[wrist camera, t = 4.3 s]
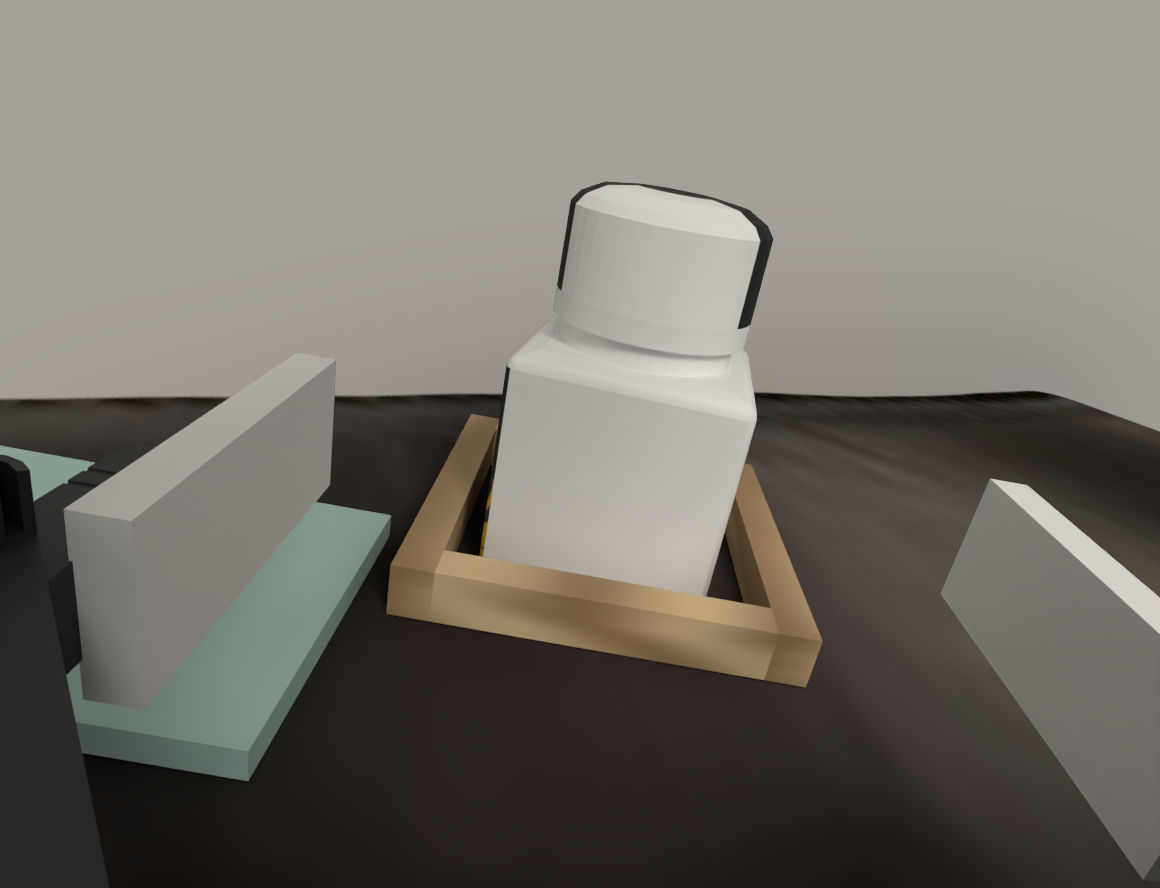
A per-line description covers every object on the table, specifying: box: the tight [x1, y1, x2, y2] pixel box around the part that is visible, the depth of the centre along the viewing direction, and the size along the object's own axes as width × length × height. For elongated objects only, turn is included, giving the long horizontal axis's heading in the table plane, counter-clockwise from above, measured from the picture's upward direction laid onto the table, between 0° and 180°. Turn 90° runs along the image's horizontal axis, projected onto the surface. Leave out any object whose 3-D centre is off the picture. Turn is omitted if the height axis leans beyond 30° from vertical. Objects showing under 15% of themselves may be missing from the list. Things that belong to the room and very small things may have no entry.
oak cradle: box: [386, 414, 823, 688], centre depth 26 cm, size 12×12×2 cm
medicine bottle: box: [479, 182, 773, 597], centre depth 24 cm, size 7×7×12 cm
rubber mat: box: [0, 446, 391, 781], centre depth 19 cm, size 13×10×1 cm
